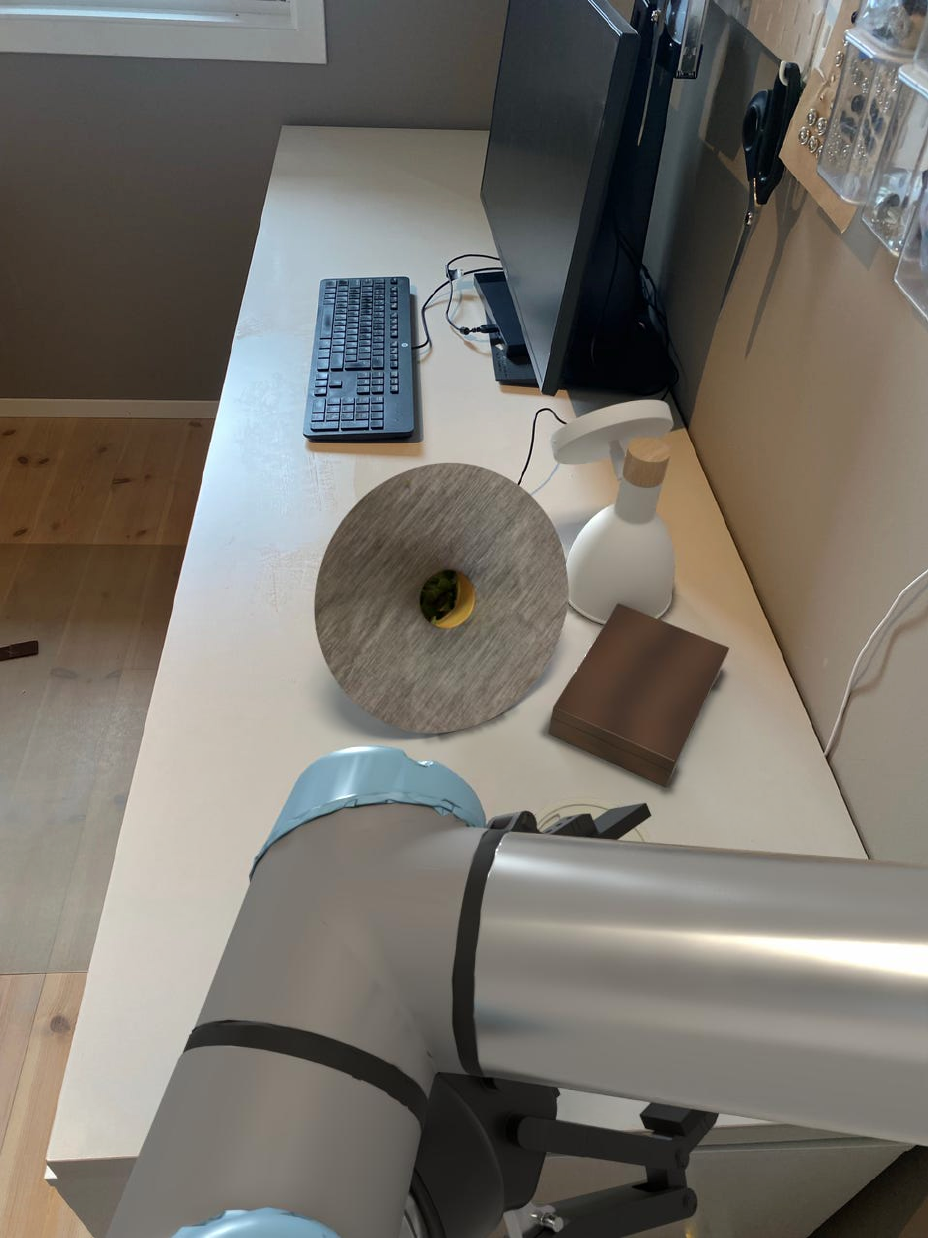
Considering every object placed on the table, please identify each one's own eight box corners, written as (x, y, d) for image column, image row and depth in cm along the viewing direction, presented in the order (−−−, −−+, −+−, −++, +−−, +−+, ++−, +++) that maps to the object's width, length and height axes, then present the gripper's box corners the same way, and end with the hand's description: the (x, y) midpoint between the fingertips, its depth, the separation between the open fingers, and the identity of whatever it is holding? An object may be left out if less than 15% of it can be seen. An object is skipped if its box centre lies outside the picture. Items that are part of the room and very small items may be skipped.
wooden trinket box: (719, 673, 93) (729, 647, 90) (666, 787, 83) (676, 762, 80) (611, 629, 96) (617, 602, 93) (547, 733, 86) (552, 707, 83)
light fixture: (563, 647, 102) (636, 617, 83) (519, 471, 104) (579, 402, 85) (664, 624, 105) (756, 591, 86) (618, 454, 107) (698, 384, 88)
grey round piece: (550, 658, 102) (480, 447, 98) (618, 678, 85) (537, 425, 81) (344, 744, 96) (260, 523, 92) (373, 784, 80) (272, 516, 76)
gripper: (215, 903, 38) (544, 728, 52) (443, 1468, 37) (719, 1138, 51) (291, 894, 33) (638, 700, 46) (564, 1562, 32) (838, 1161, 45)
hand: (681, 929), depth 49 cm, fingers open, 13 cm apart
